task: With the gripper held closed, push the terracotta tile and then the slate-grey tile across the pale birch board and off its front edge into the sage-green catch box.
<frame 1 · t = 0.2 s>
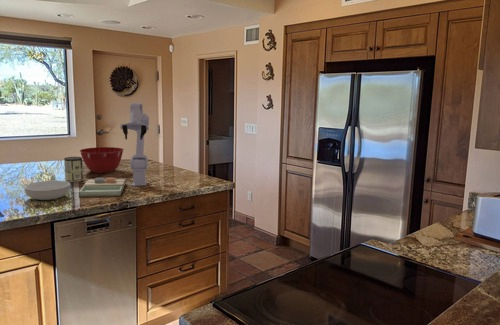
hand: (133, 138, 203), 32 cm above the worktop, tool tilted 50°, fingers open, 7 cm apart
slate tile: (99, 181, 225), point 3 cm above the worktop, touching birch board
terracotta tile: (110, 181, 226), point 3 cm above the worktop, touching birch board
mixing bowl: (102, 171, 269), on the worktop
birch board: (105, 186, 226), on the worktop
serving bowl: (48, 198, 200), on the worktop
coffee can: (74, 180, 240), on the worktop
catch box: (101, 193, 212), on the worktop
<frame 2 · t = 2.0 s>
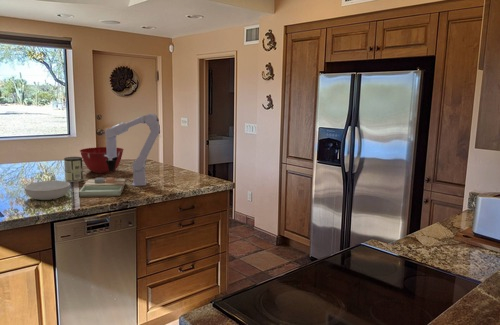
hand: (112, 170, 233), 8 cm above the worktop, tool pointing down, fingers open, 7 cm apart
nothing on the worktop moved.
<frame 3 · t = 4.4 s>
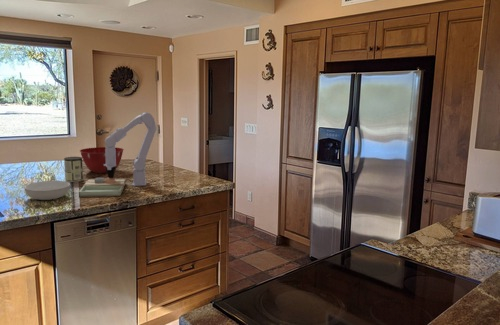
hand: (111, 179, 229), 4 cm above the worktop, tool pointing down, fingers closed
nothing on the worktop moved.
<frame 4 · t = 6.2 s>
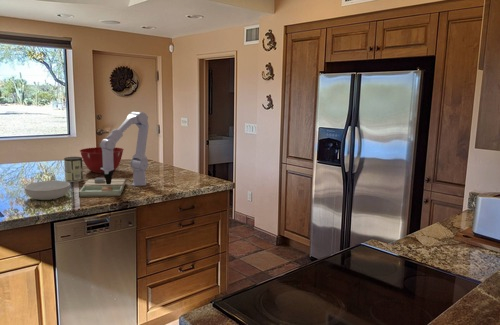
hand: (108, 184, 218), 4 cm above the worktop, tool pointing down, fingers closed
terracotta tile: (107, 187, 213), point 3 cm above the worktop, tilted 180°, touching catch box
everything else where it was.
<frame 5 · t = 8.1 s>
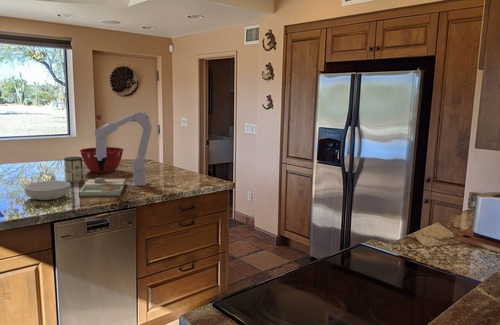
hand: (101, 170, 231), 8 cm above the worktop, tool pointing down, fingers closed
nothing on the worktop moved.
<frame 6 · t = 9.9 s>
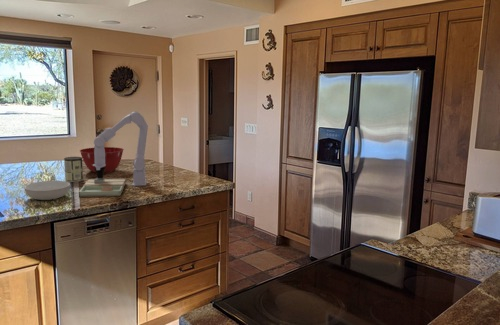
hand: (100, 179, 227), 4 cm above the worktop, tool pointing down, fingers closed
slate tile: (99, 182, 224), point 3 cm above the worktop, touching birch board, gripper
everything else where it was.
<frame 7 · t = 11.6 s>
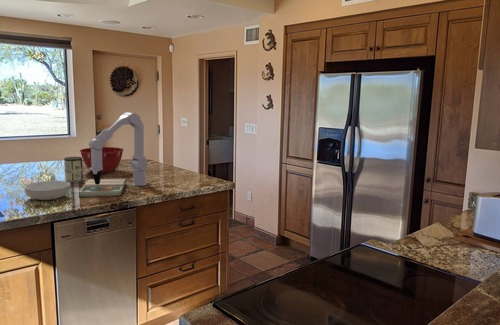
hand: (97, 184, 217), 4 cm above the worktop, tool pointing down, fingers closed
slate tile: (95, 188, 211), point 3 cm above the worktop, tilted 180°, touching catch box
everything else where it was.
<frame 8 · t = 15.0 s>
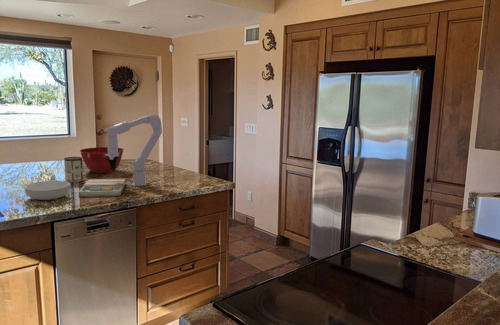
hand: (113, 169, 230), 9 cm above the worktop, tool pointing down, fingers closed
nothing on the worktop moved.
at the end: terracotta tile inside the target area on the catch box (2.8 cm from its centre), point 2.8 cm above the catch box's base; slate tile inside the target area on the catch box (3.1 cm from its centre), point 2.8 cm above the catch box's base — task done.
